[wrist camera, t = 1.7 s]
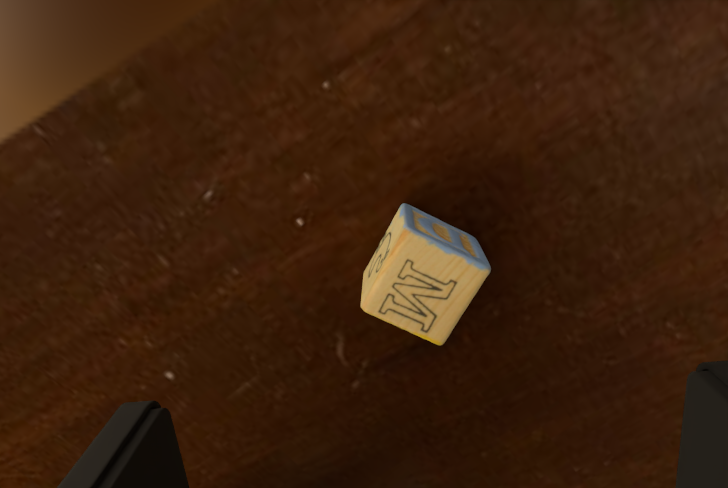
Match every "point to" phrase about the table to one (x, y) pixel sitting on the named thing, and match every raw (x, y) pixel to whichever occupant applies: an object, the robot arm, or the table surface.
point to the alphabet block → (423, 275)
